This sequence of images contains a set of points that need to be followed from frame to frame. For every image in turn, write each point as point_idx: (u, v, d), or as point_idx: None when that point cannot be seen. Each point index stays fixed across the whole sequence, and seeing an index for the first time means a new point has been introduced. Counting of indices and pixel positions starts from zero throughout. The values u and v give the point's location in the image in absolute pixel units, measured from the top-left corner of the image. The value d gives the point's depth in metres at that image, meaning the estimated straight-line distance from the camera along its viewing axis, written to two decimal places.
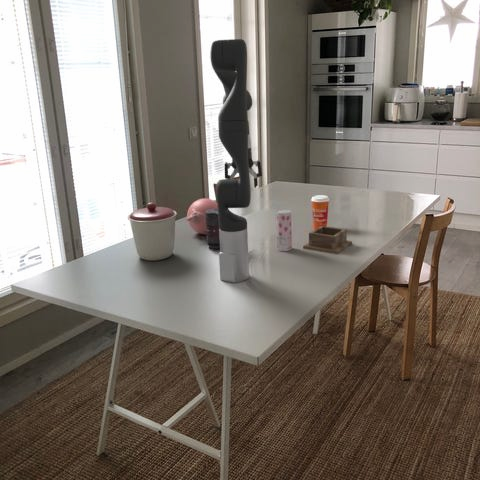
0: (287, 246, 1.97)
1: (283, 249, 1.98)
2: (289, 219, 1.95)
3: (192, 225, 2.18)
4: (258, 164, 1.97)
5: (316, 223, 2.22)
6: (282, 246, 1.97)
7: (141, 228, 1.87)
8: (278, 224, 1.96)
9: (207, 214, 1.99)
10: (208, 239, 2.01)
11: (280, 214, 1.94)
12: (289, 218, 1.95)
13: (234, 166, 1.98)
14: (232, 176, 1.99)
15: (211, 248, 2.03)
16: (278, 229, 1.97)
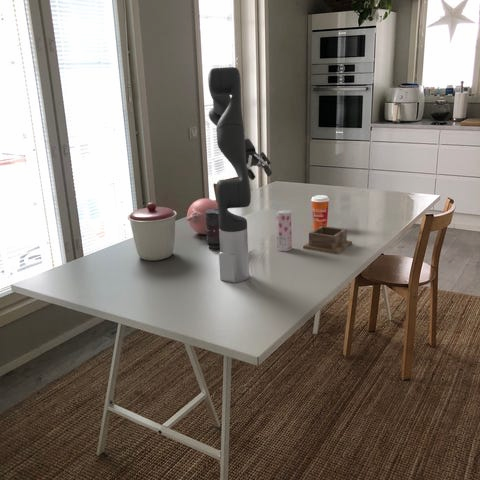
0: (287, 246, 1.97)
1: (283, 249, 1.98)
2: (289, 219, 1.95)
3: (192, 225, 2.18)
4: (263, 154, 2.06)
5: (316, 223, 2.22)
6: (282, 246, 1.97)
7: (141, 228, 1.87)
8: (278, 224, 1.96)
9: (207, 214, 1.99)
10: (208, 239, 2.01)
11: (280, 214, 1.94)
12: (289, 218, 1.95)
13: (245, 158, 2.01)
14: (248, 165, 1.99)
15: (211, 248, 2.03)
16: (278, 229, 1.97)
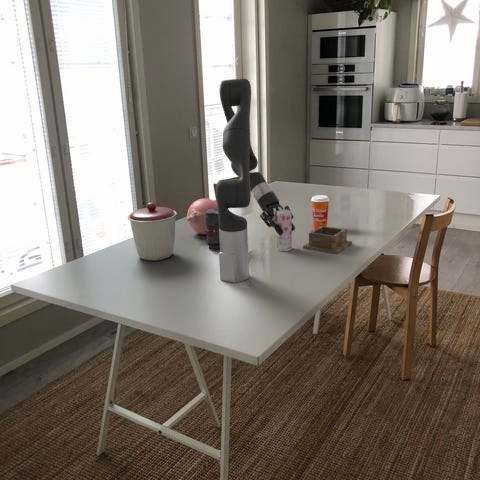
0: (287, 246, 1.97)
1: (283, 249, 1.98)
2: (289, 219, 1.95)
3: (192, 225, 2.18)
4: (287, 207, 2.03)
5: (316, 223, 2.22)
6: (282, 246, 1.97)
7: (141, 228, 1.87)
8: None
9: (207, 214, 1.99)
10: (208, 239, 2.01)
11: (280, 214, 1.94)
12: (289, 218, 1.95)
13: (270, 212, 1.97)
14: (275, 220, 1.96)
15: (211, 248, 2.03)
16: None
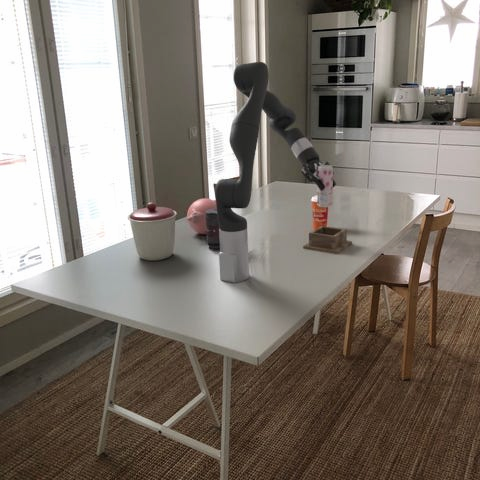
0: (328, 202, 1.95)
1: (324, 205, 1.95)
2: (331, 174, 1.92)
3: (192, 225, 2.18)
4: (327, 164, 2.00)
5: (316, 223, 2.22)
6: (323, 202, 1.95)
7: (141, 228, 1.87)
8: None
9: (207, 214, 1.99)
10: (208, 239, 2.01)
11: (322, 169, 1.91)
12: (331, 173, 1.92)
13: (311, 167, 1.94)
14: (317, 175, 1.93)
15: (211, 248, 2.03)
16: None
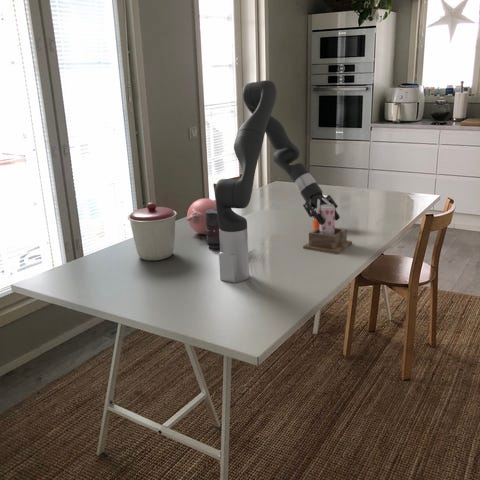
0: None
1: None
2: (333, 213, 1.96)
3: (192, 225, 2.18)
4: (329, 197, 2.04)
5: (316, 223, 2.22)
6: None
7: (141, 228, 1.87)
8: None
9: (207, 214, 1.99)
10: (208, 239, 2.01)
11: (324, 208, 1.95)
12: (333, 212, 1.96)
13: (314, 202, 1.98)
14: (317, 210, 1.96)
15: (211, 248, 2.03)
16: None
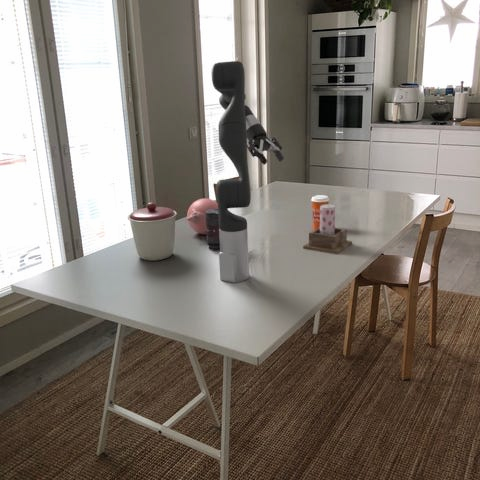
0: None
1: None
2: (333, 213, 1.96)
3: (192, 225, 2.18)
4: (274, 139, 2.04)
5: (316, 223, 2.22)
6: None
7: (141, 228, 1.87)
8: (322, 218, 1.97)
9: (207, 214, 1.99)
10: (208, 239, 2.01)
11: (324, 208, 1.95)
12: (333, 212, 1.96)
13: (257, 142, 1.98)
14: (260, 150, 1.96)
15: (211, 248, 2.03)
16: (322, 223, 1.98)
